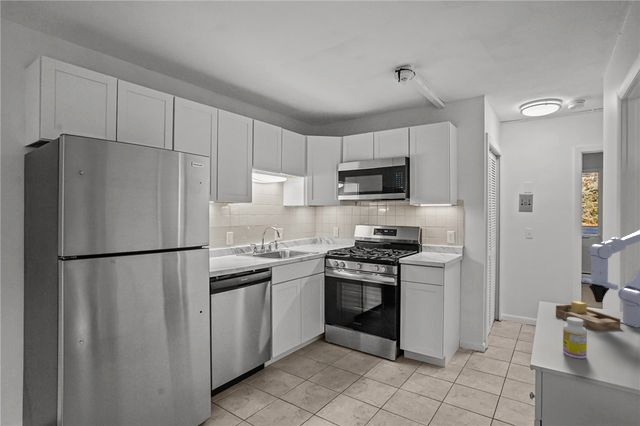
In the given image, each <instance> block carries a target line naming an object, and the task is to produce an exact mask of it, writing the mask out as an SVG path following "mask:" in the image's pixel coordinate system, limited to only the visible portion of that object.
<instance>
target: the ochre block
mask: <svg viewBox="0 0 640 426" xmlns="http://www.w3.org/2000/svg"><path fill="white" fill-rule="evenodd" d="M570 302H571V304H570V305H571V310H573V311H576V312H579V313H581V312H586V309H588V307H587V303H586V302H583V301H579V300H577V301H570Z"/></svg>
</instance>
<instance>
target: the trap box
mask: <svg viewBox="0 0 640 426" xmlns="http://www.w3.org/2000/svg"><path fill="white" fill-rule="evenodd" d="M555 316H556V317H558V318H560V319H564V320H566V321H567V318H568V317H575V318H579V319H582V320H583V327H584V328H586V329H587V328H588V329H590V330H593V331H603V330H604V331H606V330H616V329H621V322H620V320H621V318H618V317H615V316H612V315H610V314H605V313H602V312H599V311H597V310H593V309H590V308H587V309H586V312H581V313H579V312H576V311H573V310H571V304H559V305H558V304H557V305H555Z"/></svg>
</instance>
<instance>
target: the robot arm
mask: <svg viewBox="0 0 640 426" xmlns="http://www.w3.org/2000/svg"><path fill="white" fill-rule="evenodd" d="M639 242H640V229H637V231H635V232H633V233H631V234H629V235H625V236H624V237H622V238H620V237H611V238H610V239H609V240H606V241H601V242H600V244H598V243H597V244H596V243H594V244H591V246H589V248H588V250H587V253H588V255H589V257H590V261H591V262H590V278H589V277H588V278H587V277H582V278H581V283H584V284H590V285H589V286H588V287H589V289H590V291H591V292H592V294H593V297H594V301H595V302H596V303H603V301H604V298H605V296H606V294H607V293H608V292H609V290H611V289H612V290H613V291H614V290H615V291H618V293H617V296H618V298H619V299H620V300H621V303H622V319H620V324H624V325H628V326H630V327H633V328H640V268H639V269H638V271H637V273H636V275H635V277H634V278H633V279H632V281H628V282H626V283H625V284H624V285H623V286H622V287H621V288H620V289H619V284H615V283H611V282H609V281H608V279H609V278H608V277H609V259H610V258H611V257H612V256H613V254H616V253H618V252H621V251H624V250H625V249H626V247H627V246H630V245H632V244H636V243H639Z"/></svg>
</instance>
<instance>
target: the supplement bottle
mask: <svg viewBox="0 0 640 426" xmlns="http://www.w3.org/2000/svg"><path fill="white" fill-rule="evenodd" d="M562 329H563V332H562V333H563V334H562V335H563V336H562V351H563V354H564V355H566V356H568V357H570V358H574V359H581V360H582V359H586V358H587V351H588V347H587V346H588V343H587V342H588V339H587V338H588V330H587V328H586V327H585V326H583V320H582V319H579V318H575V317H568V318H567V320H566V323H565V324H564V325H563V328H562Z"/></svg>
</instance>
